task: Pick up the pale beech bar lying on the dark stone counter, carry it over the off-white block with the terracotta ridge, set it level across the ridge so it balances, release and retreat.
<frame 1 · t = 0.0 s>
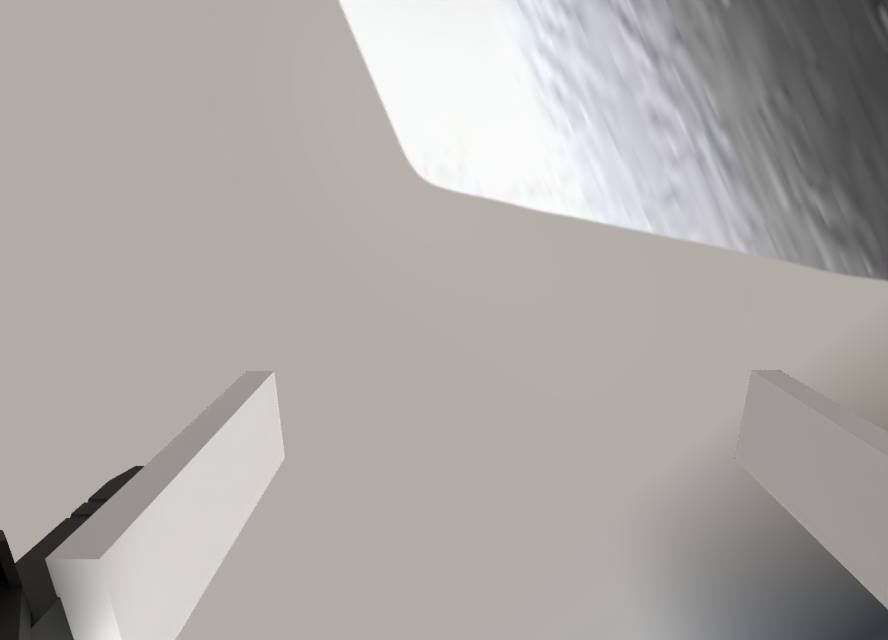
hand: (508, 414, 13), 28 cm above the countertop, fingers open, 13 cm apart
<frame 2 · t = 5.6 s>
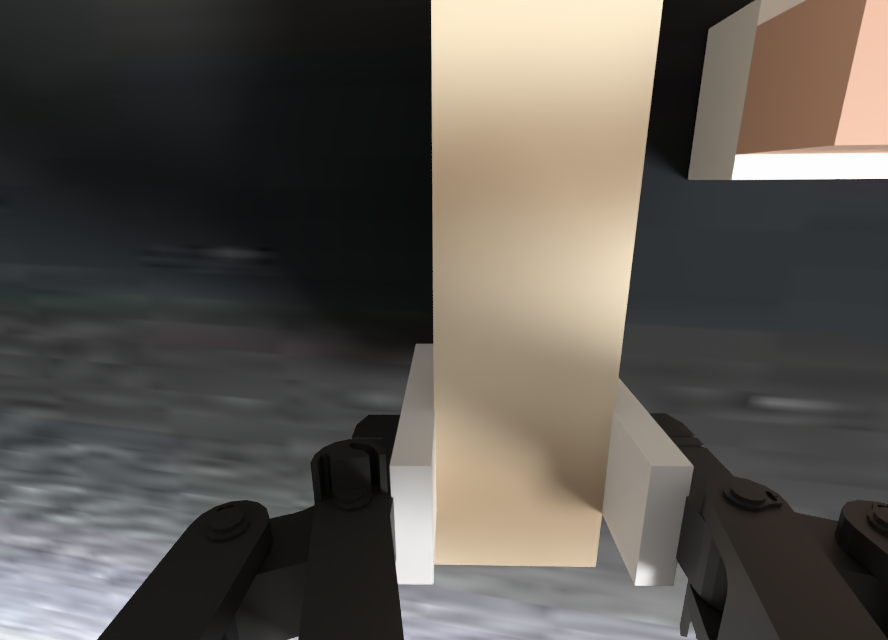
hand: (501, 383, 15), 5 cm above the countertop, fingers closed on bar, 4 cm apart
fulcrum: (812, 106, 16), on the countertop
bar: (506, 187, 14), point 4 cm above the countertop, touching gripper
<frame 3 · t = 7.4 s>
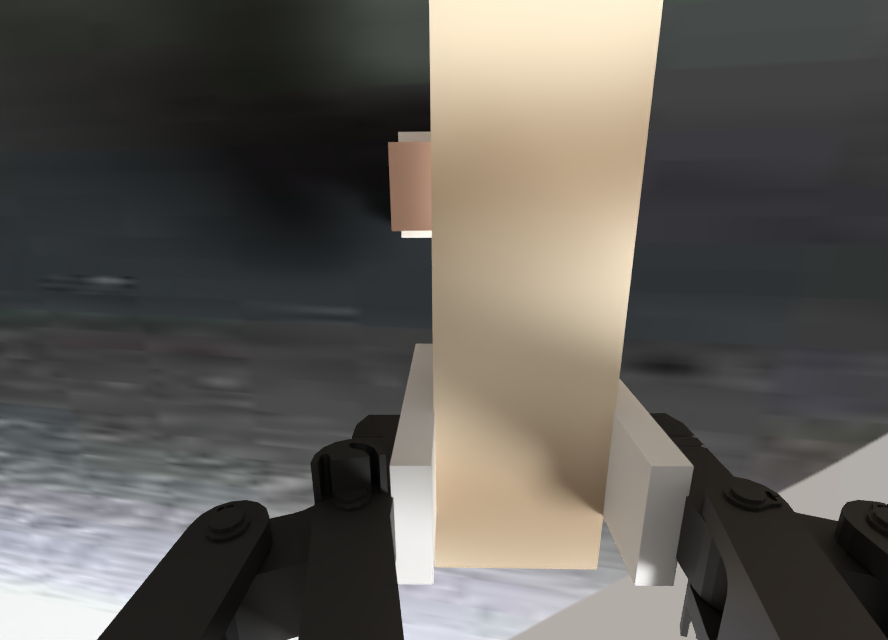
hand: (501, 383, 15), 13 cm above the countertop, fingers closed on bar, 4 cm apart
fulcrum: (477, 185, 26), on the countertop
bar: (506, 187, 14), point 12 cm above the countertop, touching gripper
when the fingers open (6 cm above the countertop, at t = 9.1 s): bar stays where it is, resting on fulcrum.
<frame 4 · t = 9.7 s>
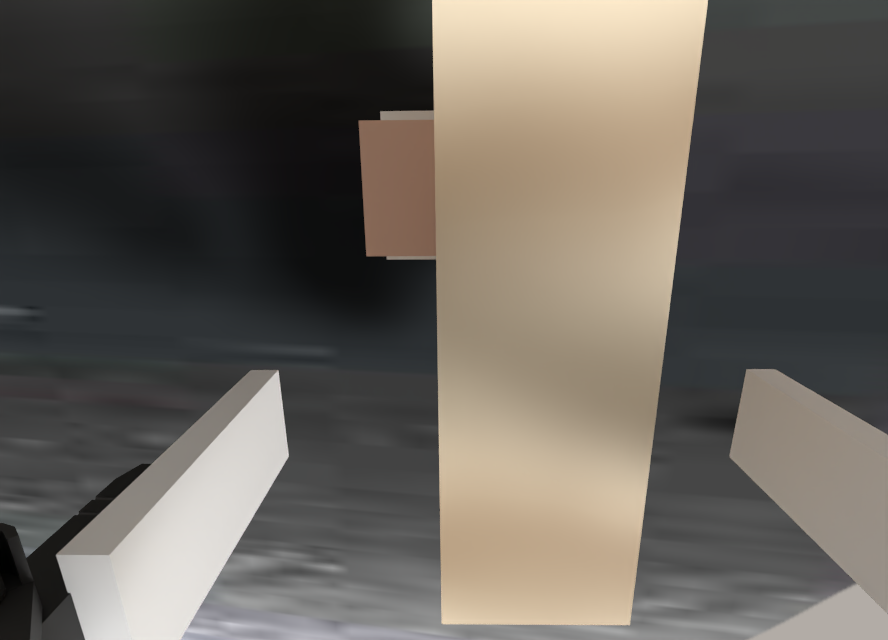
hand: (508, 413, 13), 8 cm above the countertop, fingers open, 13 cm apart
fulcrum: (490, 186, 19), on the countertop
bar: (516, 187, 12), point 7 cm above the countertop, touching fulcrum
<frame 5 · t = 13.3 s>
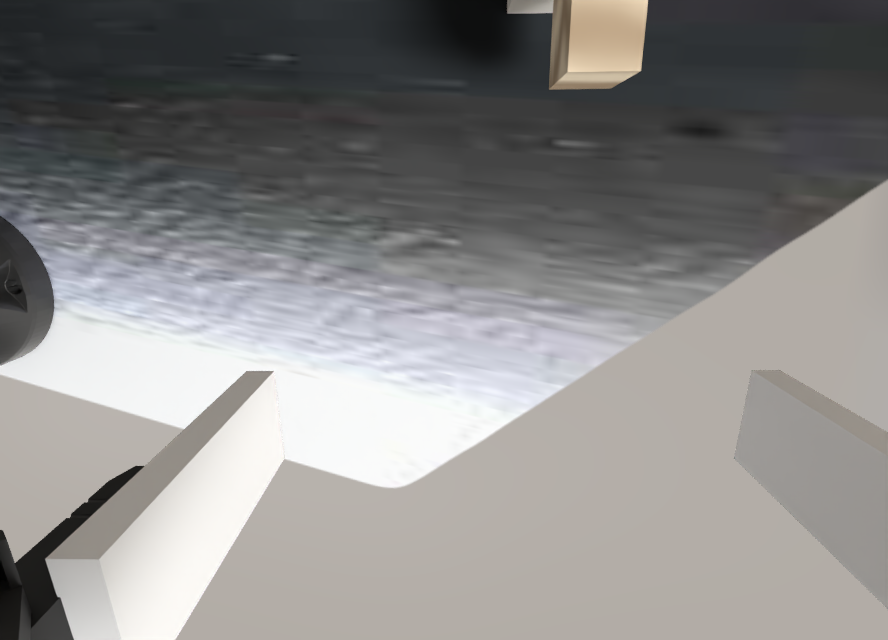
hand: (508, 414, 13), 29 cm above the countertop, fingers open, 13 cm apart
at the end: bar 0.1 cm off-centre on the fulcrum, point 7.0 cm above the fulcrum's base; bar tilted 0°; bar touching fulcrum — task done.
